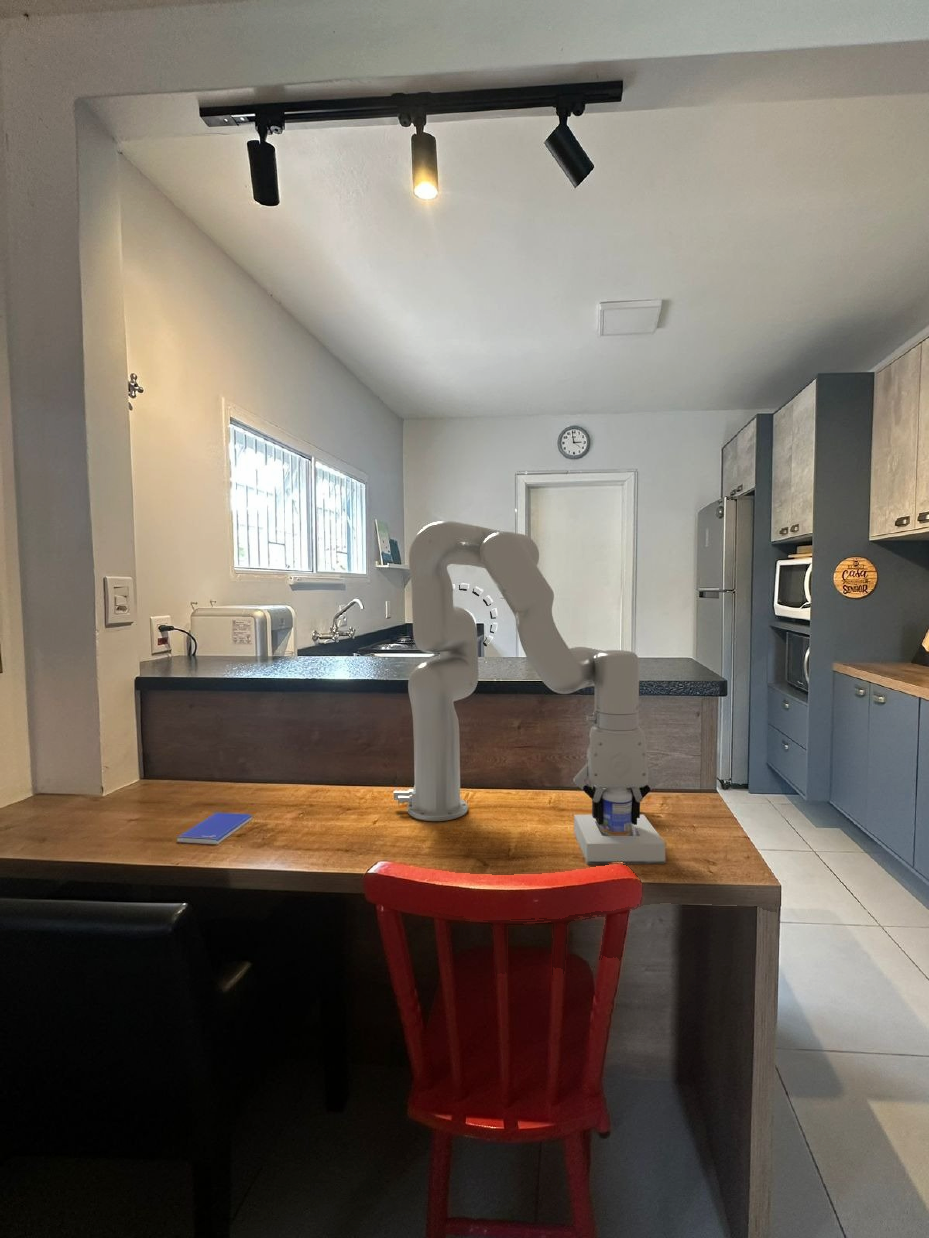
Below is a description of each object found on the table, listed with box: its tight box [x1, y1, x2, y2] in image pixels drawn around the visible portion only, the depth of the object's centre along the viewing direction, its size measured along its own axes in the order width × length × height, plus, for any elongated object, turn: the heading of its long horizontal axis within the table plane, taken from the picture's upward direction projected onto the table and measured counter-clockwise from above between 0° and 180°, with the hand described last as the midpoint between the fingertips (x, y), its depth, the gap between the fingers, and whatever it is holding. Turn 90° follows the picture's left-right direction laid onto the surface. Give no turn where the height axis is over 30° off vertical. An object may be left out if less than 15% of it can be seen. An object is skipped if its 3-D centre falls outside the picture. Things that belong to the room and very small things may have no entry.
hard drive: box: [177, 812, 253, 845], centre depth 118 cm, size 2×8×12 cm
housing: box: [573, 813, 666, 865], centre depth 107 cm, size 13×13×4 cm
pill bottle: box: [600, 788, 632, 836], centre depth 107 cm, size 5×5×10 cm
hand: (615, 820), depth 107 cm, fingers closed on pill bottle, 5 cm apart
